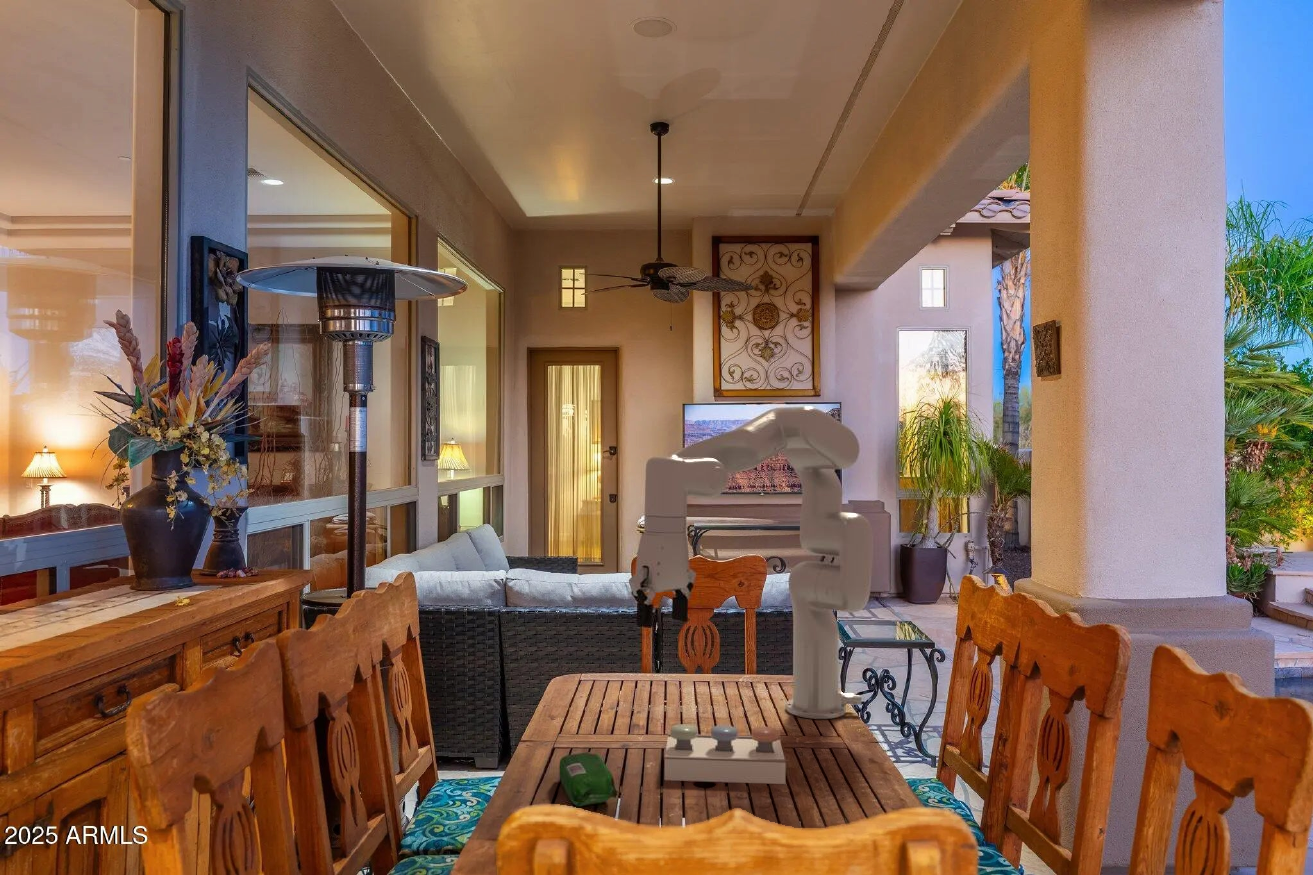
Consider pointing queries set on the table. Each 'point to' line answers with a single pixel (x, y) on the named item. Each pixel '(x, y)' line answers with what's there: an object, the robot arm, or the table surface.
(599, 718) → the table surface
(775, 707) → the table surface
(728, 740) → the slate button
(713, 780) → the console
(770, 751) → the terracotta button
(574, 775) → the snack package
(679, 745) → the sage button
